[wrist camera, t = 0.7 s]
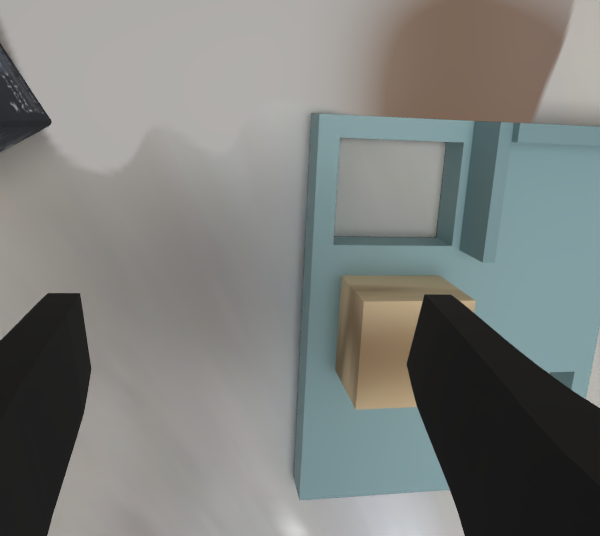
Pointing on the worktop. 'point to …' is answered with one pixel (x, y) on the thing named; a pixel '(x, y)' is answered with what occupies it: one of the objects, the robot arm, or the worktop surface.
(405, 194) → the worktop surface
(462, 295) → the block
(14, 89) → the box
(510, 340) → the trap deck
